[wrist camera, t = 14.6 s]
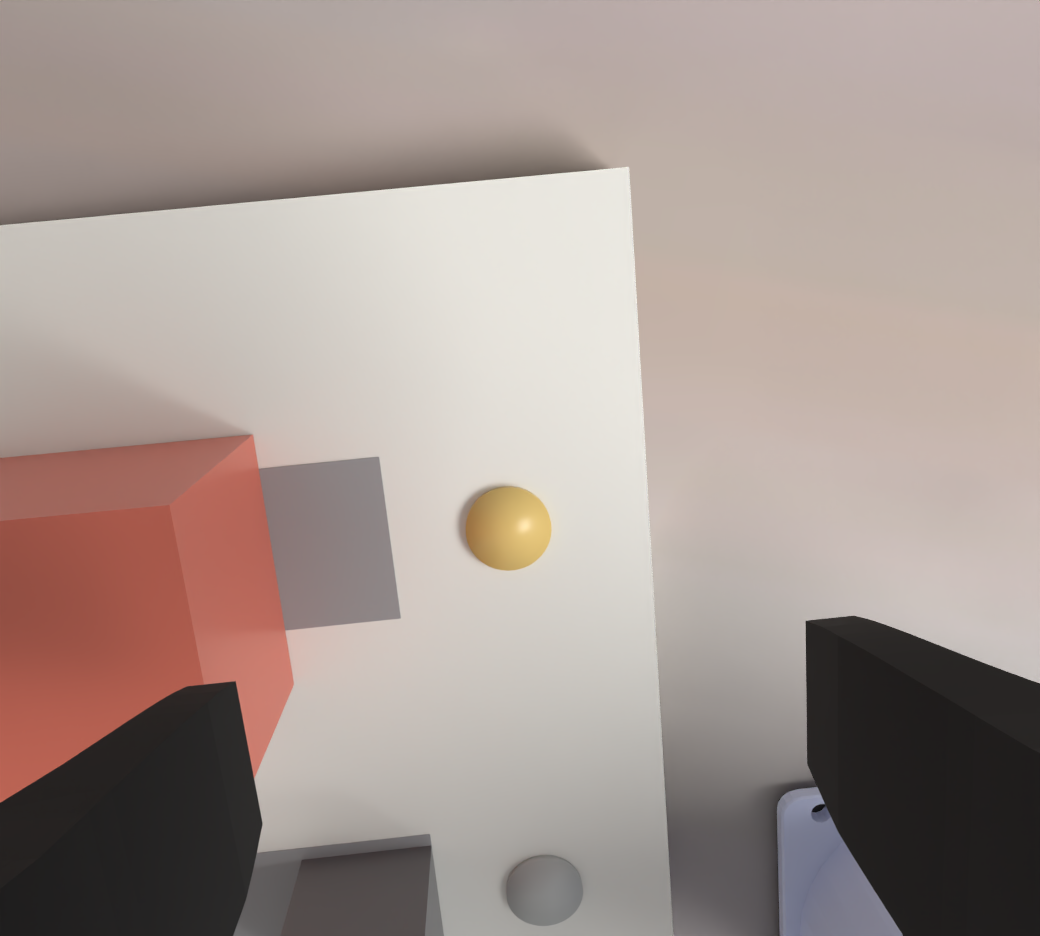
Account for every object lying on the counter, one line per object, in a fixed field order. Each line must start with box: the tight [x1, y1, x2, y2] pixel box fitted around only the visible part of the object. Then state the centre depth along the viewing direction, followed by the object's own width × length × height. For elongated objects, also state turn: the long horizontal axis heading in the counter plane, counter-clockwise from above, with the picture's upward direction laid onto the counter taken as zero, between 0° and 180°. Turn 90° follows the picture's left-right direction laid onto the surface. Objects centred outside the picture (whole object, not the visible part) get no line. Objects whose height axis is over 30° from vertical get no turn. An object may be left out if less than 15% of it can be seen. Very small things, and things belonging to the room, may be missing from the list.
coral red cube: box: [0, 435, 294, 802], centre depth 16 cm, size 6×6×5 cm
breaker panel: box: [0, 167, 673, 936], centre depth 19 cm, size 15×20×4 cm
